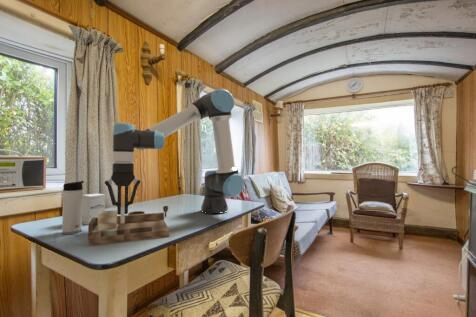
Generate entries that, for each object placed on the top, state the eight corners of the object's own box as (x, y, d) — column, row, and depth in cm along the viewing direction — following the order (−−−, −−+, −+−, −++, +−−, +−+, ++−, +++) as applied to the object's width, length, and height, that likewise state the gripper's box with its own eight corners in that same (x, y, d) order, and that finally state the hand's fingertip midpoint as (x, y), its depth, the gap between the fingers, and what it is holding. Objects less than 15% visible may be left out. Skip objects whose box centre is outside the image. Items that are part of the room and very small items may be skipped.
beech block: (117, 224, 95) (117, 210, 95) (115, 229, 90) (116, 213, 90) (100, 226, 93) (100, 211, 93) (97, 230, 87) (97, 214, 87)
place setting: (126, 219, 116) (126, 207, 116) (168, 217, 122) (168, 205, 122) (118, 229, 99) (118, 215, 99) (167, 226, 105) (167, 213, 105)
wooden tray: (163, 224, 105) (163, 212, 105) (169, 236, 89) (169, 222, 89) (92, 231, 94) (92, 217, 94) (84, 246, 78) (84, 229, 78)
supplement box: (88, 225, 102) (88, 196, 102) (79, 222, 106) (80, 194, 106) (105, 221, 109) (105, 194, 109) (96, 219, 113) (97, 192, 113)
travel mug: (82, 233, 92) (83, 181, 92) (61, 235, 88) (62, 182, 88) (83, 229, 97) (84, 180, 97) (63, 231, 94) (64, 180, 94)
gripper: (140, 162, 99) (139, 218, 99) (105, 162, 94) (104, 221, 94) (141, 163, 92) (140, 223, 92) (103, 162, 87) (102, 226, 87)
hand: (122, 222), depth 93 cm, fingers closed
